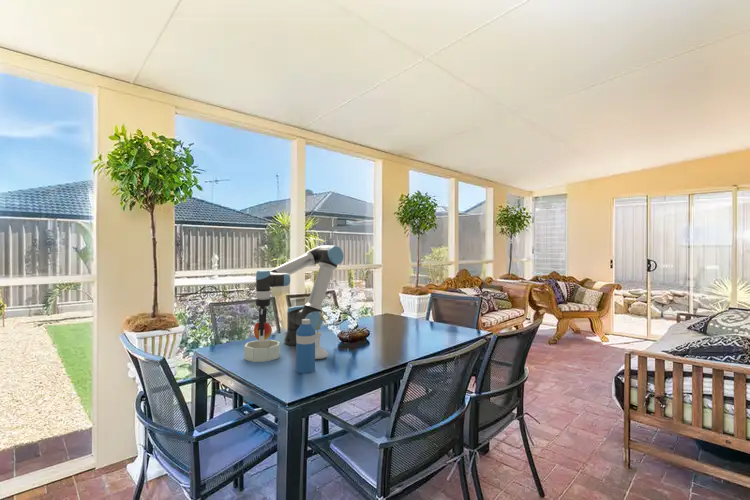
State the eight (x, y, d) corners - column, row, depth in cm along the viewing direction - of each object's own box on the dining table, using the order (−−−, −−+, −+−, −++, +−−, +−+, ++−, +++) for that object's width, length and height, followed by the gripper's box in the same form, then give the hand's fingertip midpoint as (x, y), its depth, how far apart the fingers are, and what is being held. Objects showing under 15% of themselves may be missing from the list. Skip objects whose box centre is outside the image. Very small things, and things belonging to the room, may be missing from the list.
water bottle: (313, 373, 180) (313, 321, 180) (293, 373, 181) (294, 321, 180) (316, 367, 190) (317, 318, 190) (298, 367, 190) (298, 317, 190)
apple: (264, 343, 201) (264, 324, 201) (249, 341, 205) (249, 323, 205) (275, 339, 210) (275, 321, 210) (261, 337, 214) (261, 319, 213)
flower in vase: (323, 361, 200) (324, 314, 199) (303, 360, 202) (304, 313, 202) (331, 354, 212) (332, 310, 212) (312, 353, 215) (312, 309, 215)
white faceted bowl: (280, 351, 218) (280, 339, 218) (278, 360, 200) (278, 347, 200) (247, 352, 214) (247, 340, 214) (242, 362, 197) (242, 348, 197)
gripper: (258, 295, 217) (257, 334, 217) (253, 301, 196) (253, 344, 196) (271, 295, 219) (271, 334, 219) (268, 301, 197) (267, 344, 197)
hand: (262, 339), depth 207 cm, fingers closed on apple, 9 cm apart
